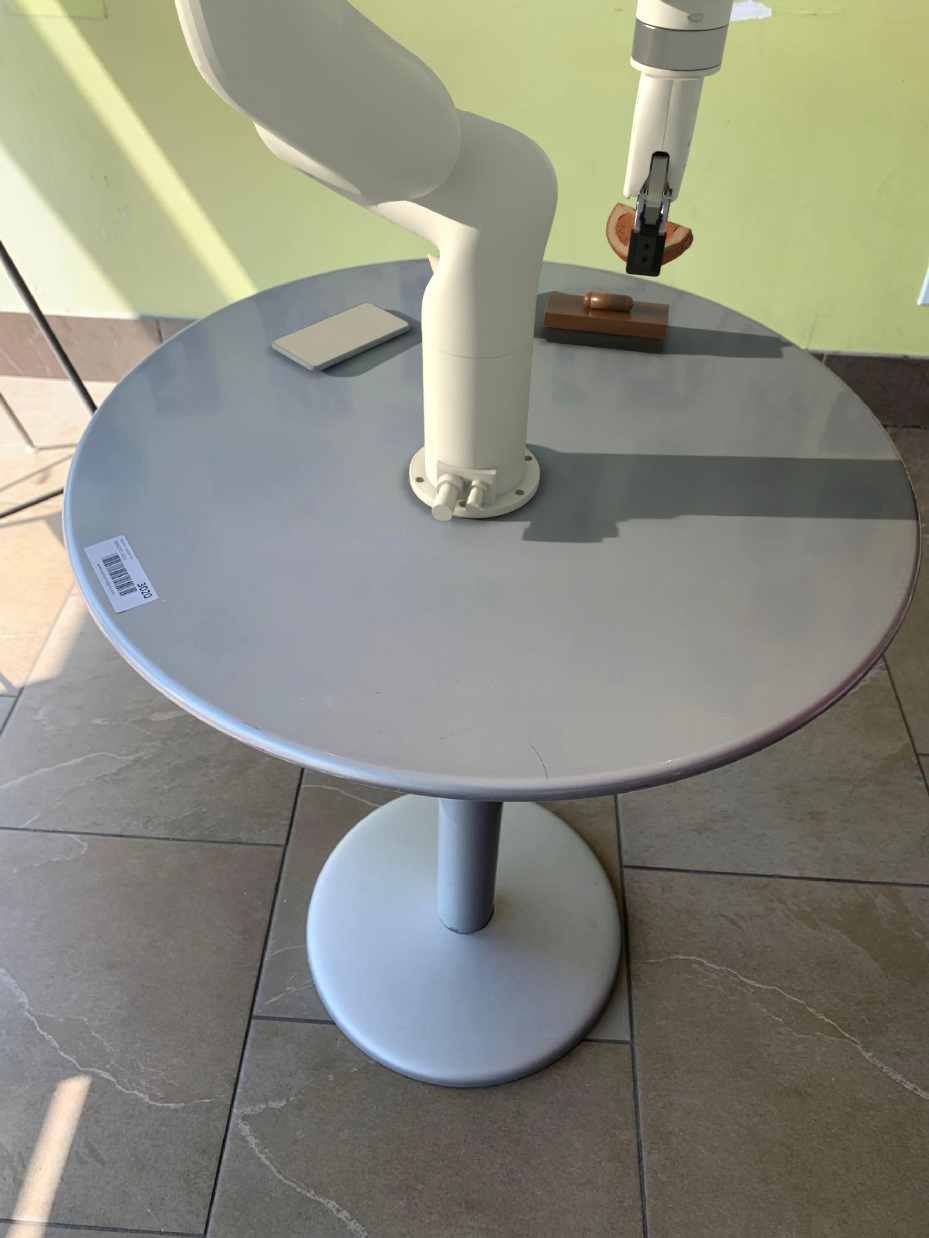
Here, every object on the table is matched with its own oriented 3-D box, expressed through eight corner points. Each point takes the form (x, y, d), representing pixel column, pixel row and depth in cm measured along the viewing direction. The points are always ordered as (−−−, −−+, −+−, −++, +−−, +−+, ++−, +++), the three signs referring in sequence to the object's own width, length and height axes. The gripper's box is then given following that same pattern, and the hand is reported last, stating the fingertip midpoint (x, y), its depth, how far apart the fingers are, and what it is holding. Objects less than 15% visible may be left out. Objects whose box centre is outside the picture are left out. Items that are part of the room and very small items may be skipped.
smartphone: (413, 324, 107) (314, 368, 100) (413, 331, 108) (314, 376, 100) (366, 300, 111) (267, 341, 104) (367, 307, 112) (269, 349, 104)
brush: (662, 355, 105) (670, 310, 101) (542, 342, 106) (545, 298, 102) (663, 334, 108) (671, 290, 104) (547, 322, 110) (551, 278, 106)
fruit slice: (698, 269, 88) (709, 217, 84) (659, 292, 85) (669, 239, 81) (628, 243, 92) (635, 192, 88) (588, 264, 88) (594, 212, 85)
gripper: (640, 17, 81) (614, 216, 94) (624, 72, 69) (597, 292, 82) (724, 22, 80) (687, 223, 93) (723, 79, 68) (680, 301, 81)
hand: (645, 254), depth 87 cm, fingers closed on fruit slice, 7 cm apart
